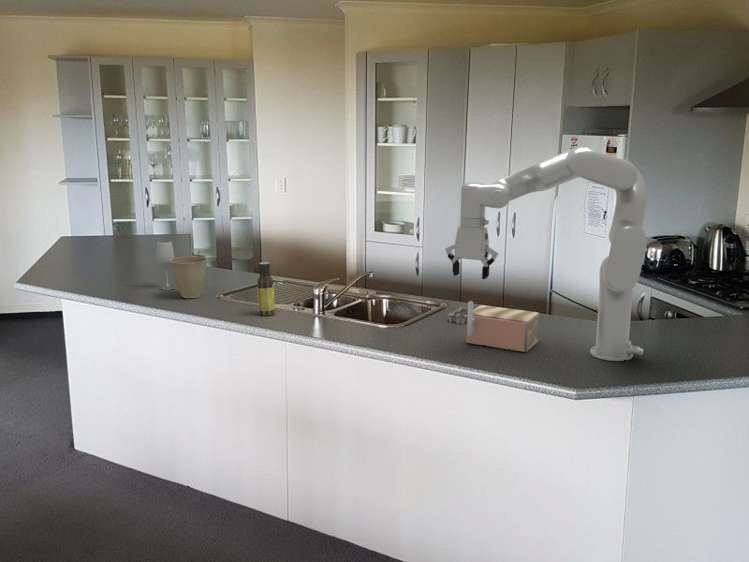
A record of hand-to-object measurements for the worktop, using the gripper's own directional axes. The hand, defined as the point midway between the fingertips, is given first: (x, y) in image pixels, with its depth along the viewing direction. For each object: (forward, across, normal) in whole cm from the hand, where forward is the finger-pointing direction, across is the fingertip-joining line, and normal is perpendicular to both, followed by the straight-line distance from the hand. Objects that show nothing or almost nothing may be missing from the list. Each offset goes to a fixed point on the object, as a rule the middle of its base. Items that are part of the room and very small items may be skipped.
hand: (470, 276), depth 221 cm
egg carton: (+24, +14, -28) cm, 39 cm away
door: (+23, -8, -2) cm, 24 cm away
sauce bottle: (+24, +82, 0) cm, 86 cm away
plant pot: (+25, +127, -6) cm, 130 cm away
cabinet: (+23, -8, -10) cm, 26 cm away
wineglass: (+25, +147, -12) cm, 150 cm away
